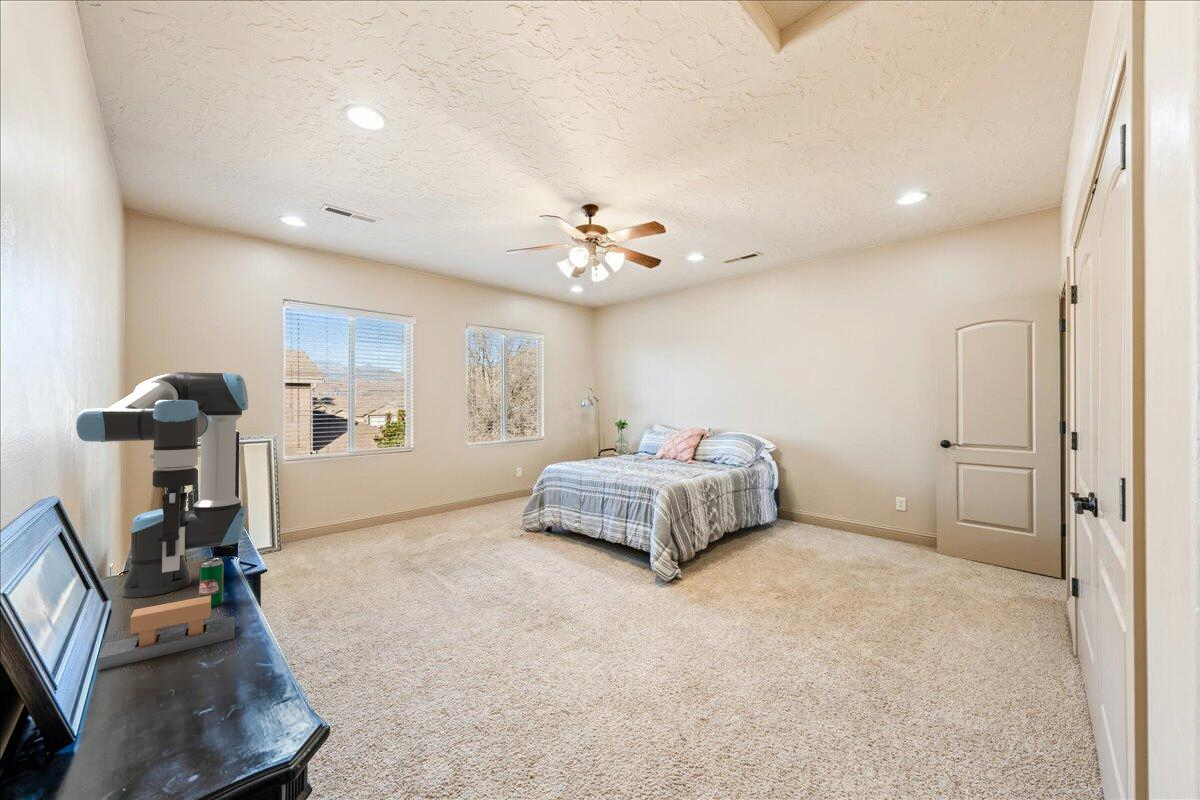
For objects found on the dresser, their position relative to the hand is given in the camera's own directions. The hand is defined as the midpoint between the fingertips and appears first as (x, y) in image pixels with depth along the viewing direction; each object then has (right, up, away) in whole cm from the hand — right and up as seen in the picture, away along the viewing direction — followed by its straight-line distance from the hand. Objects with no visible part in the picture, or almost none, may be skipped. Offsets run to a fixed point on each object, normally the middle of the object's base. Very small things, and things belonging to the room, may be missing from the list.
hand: (173, 562), depth 106 cm
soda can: (-10, -19, +22) cm, 31 cm away
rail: (0, -19, -1) cm, 19 cm away
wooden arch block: (0, -19, -1) cm, 19 cm away
